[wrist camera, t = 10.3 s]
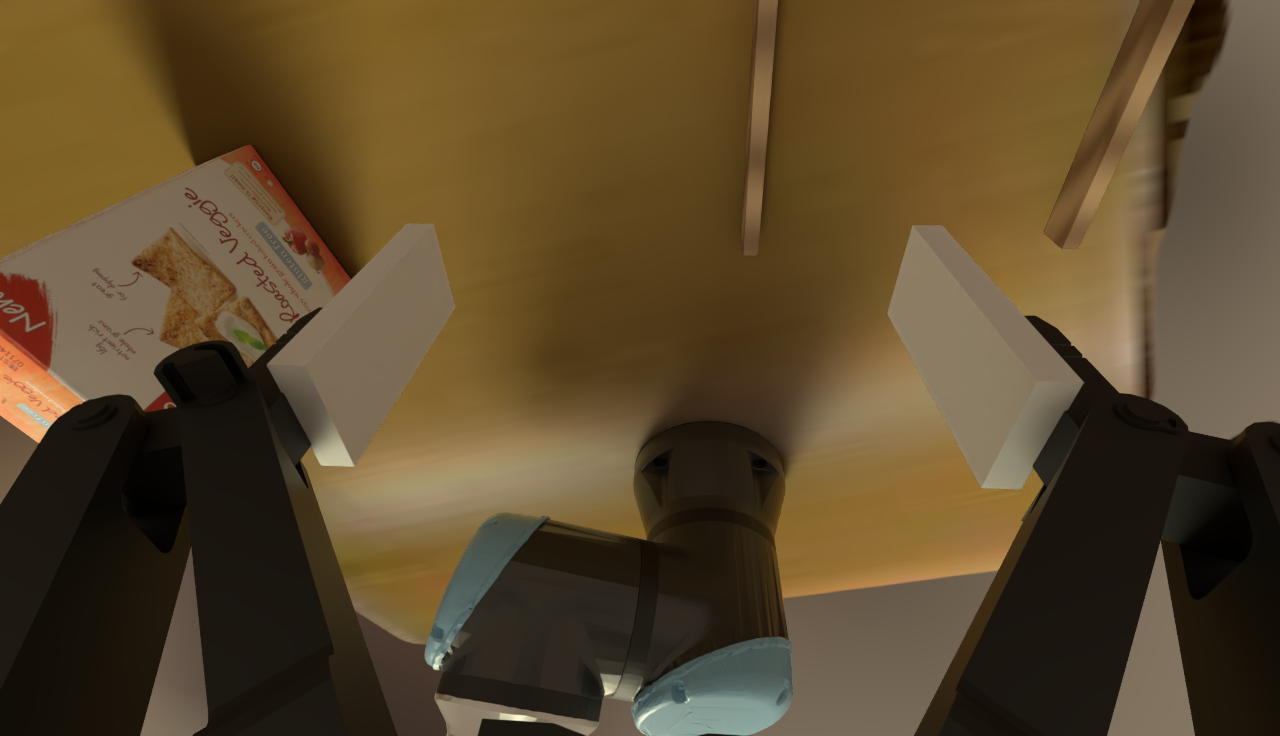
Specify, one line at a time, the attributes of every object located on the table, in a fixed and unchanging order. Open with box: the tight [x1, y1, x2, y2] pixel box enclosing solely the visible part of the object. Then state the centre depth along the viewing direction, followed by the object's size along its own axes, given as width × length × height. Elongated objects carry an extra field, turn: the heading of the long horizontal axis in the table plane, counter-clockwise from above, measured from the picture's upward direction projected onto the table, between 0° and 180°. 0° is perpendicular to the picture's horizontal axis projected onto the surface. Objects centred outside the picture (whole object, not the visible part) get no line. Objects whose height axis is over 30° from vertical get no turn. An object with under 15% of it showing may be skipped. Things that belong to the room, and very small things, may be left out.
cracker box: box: [0, 145, 351, 443], centre depth 36 cm, size 14×6×21 cm, turn 20°
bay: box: [741, 0, 1195, 256], centre depth 30 cm, size 27×22×4 cm
